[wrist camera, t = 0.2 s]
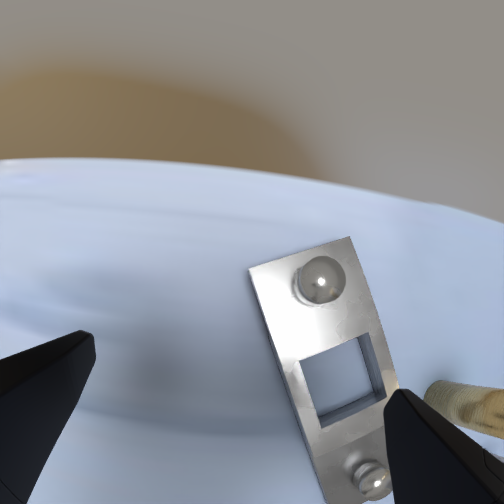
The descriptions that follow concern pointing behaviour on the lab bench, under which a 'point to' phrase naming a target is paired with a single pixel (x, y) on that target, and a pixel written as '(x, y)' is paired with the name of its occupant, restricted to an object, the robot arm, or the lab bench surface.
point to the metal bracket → (323, 338)
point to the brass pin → (469, 406)
